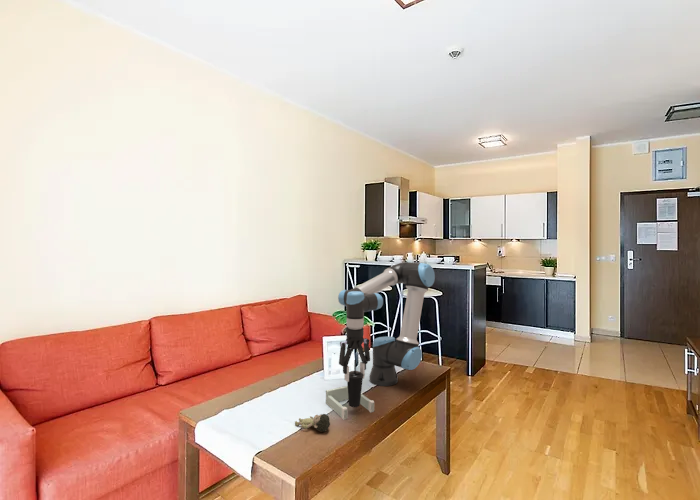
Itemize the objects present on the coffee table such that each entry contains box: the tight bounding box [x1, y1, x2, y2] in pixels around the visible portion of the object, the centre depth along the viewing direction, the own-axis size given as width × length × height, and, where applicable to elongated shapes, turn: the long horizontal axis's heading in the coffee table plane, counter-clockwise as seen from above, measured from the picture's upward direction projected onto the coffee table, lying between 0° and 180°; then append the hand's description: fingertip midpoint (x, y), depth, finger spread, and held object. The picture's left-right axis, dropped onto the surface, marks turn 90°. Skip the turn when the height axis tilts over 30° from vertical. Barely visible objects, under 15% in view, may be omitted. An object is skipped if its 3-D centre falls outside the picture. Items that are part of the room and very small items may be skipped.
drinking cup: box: [346, 359, 364, 408], centre depth 165 cm, size 8×8×20 cm
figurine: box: [294, 413, 331, 433], centre depth 152 cm, size 8×6×15 cm
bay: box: [325, 385, 375, 421], centre depth 170 cm, size 15×18×6 cm
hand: (354, 379), depth 165 cm, fingers closed on drinking cup, 7 cm apart
